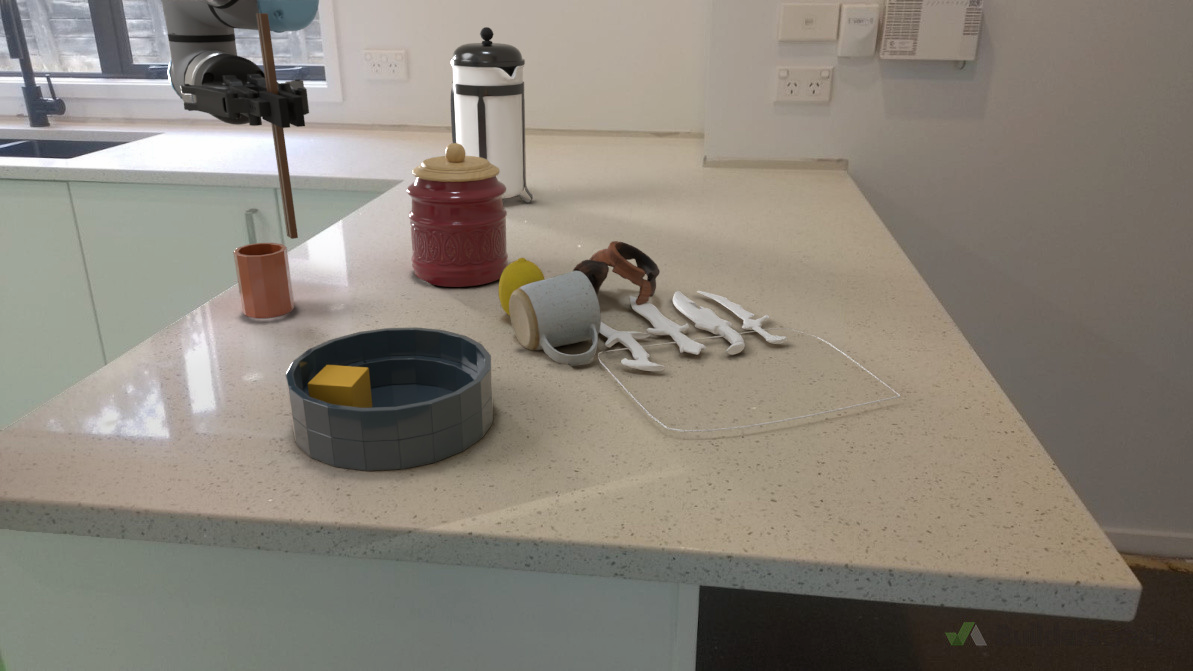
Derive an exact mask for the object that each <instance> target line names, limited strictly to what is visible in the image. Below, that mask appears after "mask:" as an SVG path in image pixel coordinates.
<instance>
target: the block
mask: <svg viewBox="0 0 1193 671" xmlns="http://www.w3.org/2000/svg"><path fill="white" fill-rule="evenodd" d="M308 390H309V397H312V398H315V399H318V400H321V401H324V402H327V403H330V404H334V405H342V406H351V407H359V408H372V397H371V386H370V376H369V368H367V367H352V366H338V365H326V366H325V367H324V368H323V369H322V370H321V371H320V372H319V373H318V374H317V375H316V376H315V377H314V378H313V379H312V380H311V381H310V382H309V383H308Z"/></svg>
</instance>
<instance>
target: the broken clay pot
mask: <svg viewBox="0 0 1193 671" xmlns="http://www.w3.org/2000/svg"><path fill="white" fill-rule="evenodd" d="M631 260H634V261H635V264H636V265H635V264H633V263H632V262H630V261H631ZM610 267H611V268H612V270H611V272H612V273H614V274H616V275H618V276H619V277H621V278H622V279H625V280H627V281H629V282H630V283H632V284H633V285H635V286H638V287H639V293H638V295H637V297H636V298H637V299H636V304H637V305H641V304H644V303H646V302H648V303H649V300H650V298H652V297H653V296H654V294H655V292H656V291H657V290H656V289H657V280H656V279H657V277H658V276H659V275H660V272H661V271H660V269H659V267H658V265H657V263H656V262H655V261H654V260H653V259H652V257H650V256H649V255H648V254H646V253H645V252H644V251H643V250H641V249H639V248H637V247H636V246H634V245H632V244H629V243H627V242H623V241H618V240H612V241H611V242H610V243H609V245H608V247H606V248H602V249H600V250H598V251H596V252H595V253H594V254H592V255H591V257H590V258H589V259H584V260H582V261H581V262H579V263H578V264H576V266H575V267H574V268H573V269H572V271H580V272H582V273H583V274H585V275H586V276H587V277H588V279H589V280H590V282H591V284H592V286H593V288H594V290H595V292H596V295H597V296H598V293H599V291H600V288H601V287H602V285H603V283H604V282H605V281H606V279H607V277H608V275H609V271H610ZM645 276H646V279H645V278H644V277H645Z"/></svg>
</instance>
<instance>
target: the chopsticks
mask: <svg viewBox="0 0 1193 671" xmlns="http://www.w3.org/2000/svg"><path fill="white" fill-rule="evenodd" d="M256 17H257V24H258V30H257V31H258V37H259V45H260V52H261V59H262V66H263V72H264V74H265V81H266V89H267V91H268V92H271V93H274V94H277V95H279V94H278V86H277V82H278V79H277V71H276V65H275V64H276V63H275V56H274V49H273V42H272V34H271V31H270V26H269V19H268V14H267V13H257V14H256ZM270 124H271V131H272V139H273V145H274V153H275V160H276V168H277V174H278V180H279V188H280V195H281V203H282V210H283V216H284V223H285V232H286V236H287V237H288V238H290V240H294V239H299V236H298V228H297V220H296V213H295V212H296V211H295V205H294V204H295V203H294V199H293V190H292V183H291V176H290V168H289V162H288V161H289V160H288V153H287V145H286V138H285V131H284V128H281V127H279V126H277V125H274V124H272V123H270Z"/></svg>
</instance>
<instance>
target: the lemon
mask: <svg viewBox="0 0 1193 671" xmlns="http://www.w3.org/2000/svg"><path fill="white" fill-rule="evenodd" d="M545 279H546V278H545V276H544V273H543V271H542V269H541V268H540V267H539V266H538V265H537V264H536V263H534V262H532V261H530V260H527V259H526V258H525V257H519V258H517V260H514V261H512V262H510V263H508V265H507V267H506V268H505V269H504V271H503V272H502V275H501V277H500V279H499V281H498V289H497V290H498V291H497V292H498V299H499V302H500V306H501V308H502V310H503V311H504V312H505V314H507V316H509V317H510V312H509V301H510V297H511V295H512V293H513V291H514V290H516V289H518V288H520V287H522V286H524V285H526V284H530V283H533V282H537V281H541V280H545Z"/></svg>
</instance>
